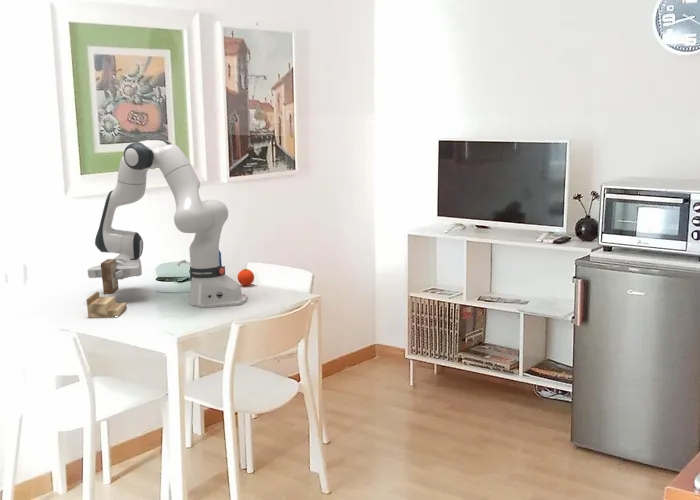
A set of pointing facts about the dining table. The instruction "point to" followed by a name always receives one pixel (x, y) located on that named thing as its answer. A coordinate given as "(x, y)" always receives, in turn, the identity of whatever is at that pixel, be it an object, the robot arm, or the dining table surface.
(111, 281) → the brown wooden block
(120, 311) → the oak notch rail
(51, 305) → the dining table surface
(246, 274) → the clementine
